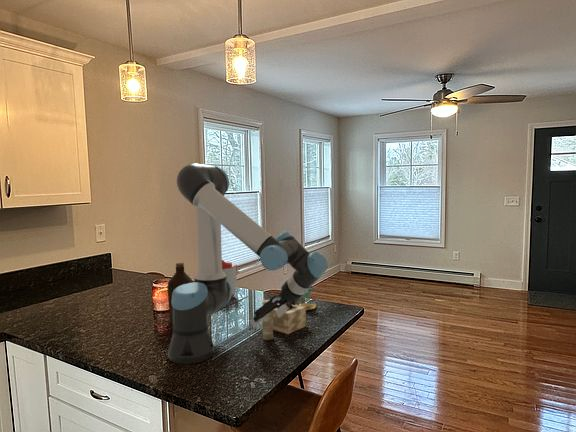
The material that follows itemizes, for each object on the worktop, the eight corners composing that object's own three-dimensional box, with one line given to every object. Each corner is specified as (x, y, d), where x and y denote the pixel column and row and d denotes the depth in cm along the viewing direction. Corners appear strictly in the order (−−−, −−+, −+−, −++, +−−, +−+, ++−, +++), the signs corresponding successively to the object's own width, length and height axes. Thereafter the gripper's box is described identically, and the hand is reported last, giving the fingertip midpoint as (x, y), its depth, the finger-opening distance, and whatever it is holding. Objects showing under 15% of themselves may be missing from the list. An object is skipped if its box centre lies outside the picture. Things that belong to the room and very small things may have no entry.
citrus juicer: (245, 298, 196) (245, 259, 195) (214, 304, 187) (213, 263, 185) (232, 291, 209) (231, 254, 208) (201, 296, 200) (200, 258, 198)
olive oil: (190, 326, 158) (189, 265, 156) (165, 326, 158) (162, 266, 156) (197, 317, 169) (195, 260, 167) (173, 317, 169) (171, 261, 167)
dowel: (268, 340, 142) (267, 303, 141) (260, 338, 145) (259, 301, 144) (275, 337, 146) (275, 301, 144) (267, 335, 148) (267, 299, 147)
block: (288, 334, 149) (287, 313, 148) (267, 327, 156) (267, 308, 155) (305, 326, 157) (305, 307, 156) (285, 320, 164) (285, 301, 163)
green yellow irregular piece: (282, 312, 175) (284, 279, 175) (307, 306, 189) (309, 276, 189) (299, 316, 169) (300, 282, 169) (323, 310, 182) (325, 279, 182)
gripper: (276, 304, 124) (245, 337, 135) (323, 288, 142) (292, 319, 153) (264, 285, 127) (235, 319, 138) (311, 272, 145) (282, 303, 157)
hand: (265, 319), depth 146 cm, fingers open, 13 cm apart
